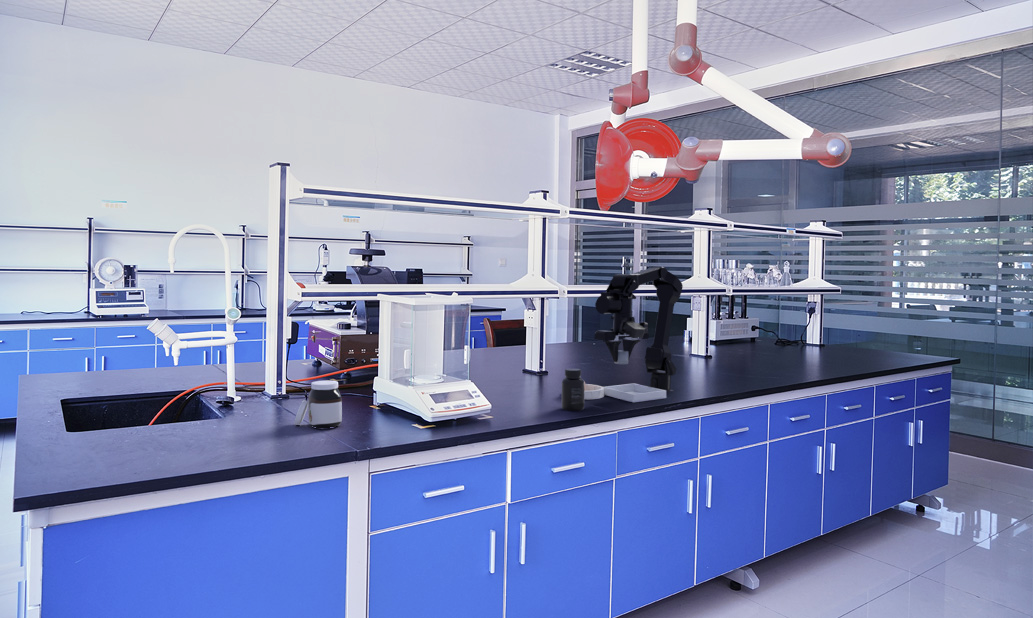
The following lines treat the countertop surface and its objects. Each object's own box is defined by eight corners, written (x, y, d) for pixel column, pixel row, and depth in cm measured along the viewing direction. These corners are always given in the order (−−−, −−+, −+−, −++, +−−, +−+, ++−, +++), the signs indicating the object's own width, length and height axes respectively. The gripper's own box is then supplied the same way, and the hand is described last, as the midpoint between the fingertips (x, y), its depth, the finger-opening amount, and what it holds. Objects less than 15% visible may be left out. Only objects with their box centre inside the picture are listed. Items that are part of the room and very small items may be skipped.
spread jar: (345, 428, 173) (345, 384, 172) (301, 434, 166) (301, 388, 166) (331, 419, 183) (331, 377, 182) (289, 424, 177) (288, 380, 176)
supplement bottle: (586, 407, 201) (587, 368, 201) (581, 412, 195) (581, 371, 194) (564, 405, 204) (565, 367, 203) (558, 410, 197) (559, 370, 197)
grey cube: (621, 362, 217) (622, 350, 217) (631, 363, 213) (631, 351, 213) (611, 362, 215) (612, 350, 214) (620, 364, 211) (621, 352, 211)
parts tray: (634, 392, 228) (634, 383, 228) (666, 399, 215) (666, 390, 215) (602, 395, 220) (602, 386, 220) (633, 404, 207) (633, 394, 207)
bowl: (586, 392, 227) (586, 382, 227) (611, 398, 216) (611, 388, 215) (554, 395, 220) (555, 386, 220) (579, 402, 209) (579, 392, 208)
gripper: (617, 315, 201) (616, 366, 202) (661, 314, 212) (660, 363, 212) (594, 313, 211) (592, 361, 211) (637, 312, 221) (635, 358, 222)
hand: (621, 361), depth 214 cm, fingers closed on grey cube, 4 cm apart
